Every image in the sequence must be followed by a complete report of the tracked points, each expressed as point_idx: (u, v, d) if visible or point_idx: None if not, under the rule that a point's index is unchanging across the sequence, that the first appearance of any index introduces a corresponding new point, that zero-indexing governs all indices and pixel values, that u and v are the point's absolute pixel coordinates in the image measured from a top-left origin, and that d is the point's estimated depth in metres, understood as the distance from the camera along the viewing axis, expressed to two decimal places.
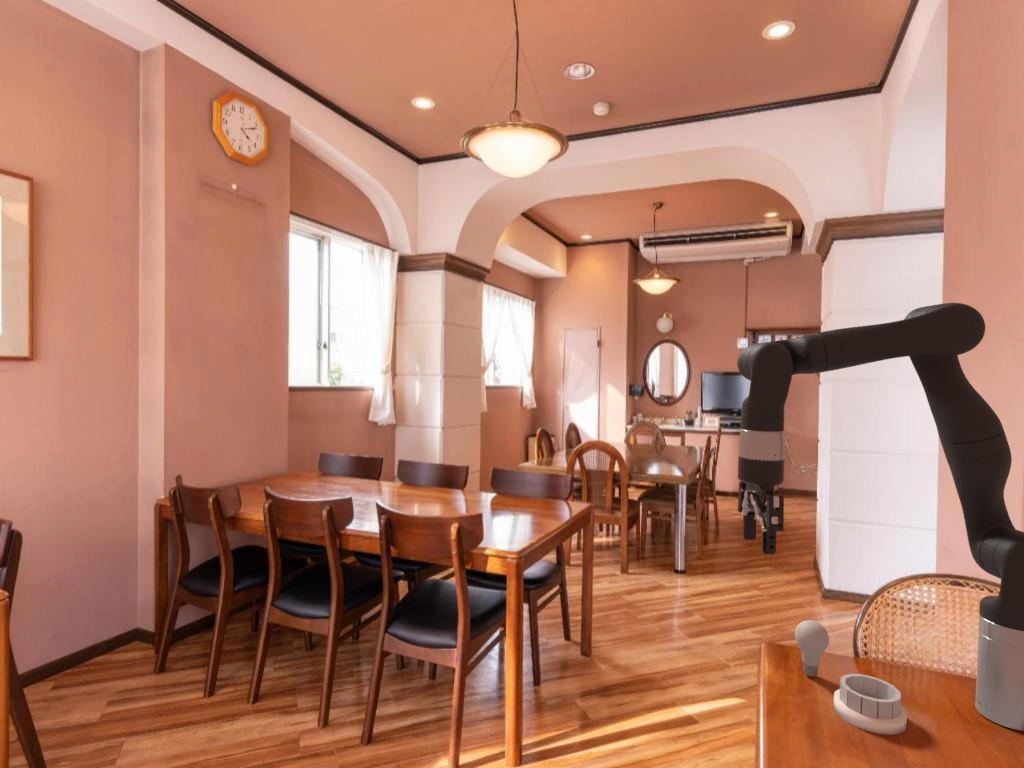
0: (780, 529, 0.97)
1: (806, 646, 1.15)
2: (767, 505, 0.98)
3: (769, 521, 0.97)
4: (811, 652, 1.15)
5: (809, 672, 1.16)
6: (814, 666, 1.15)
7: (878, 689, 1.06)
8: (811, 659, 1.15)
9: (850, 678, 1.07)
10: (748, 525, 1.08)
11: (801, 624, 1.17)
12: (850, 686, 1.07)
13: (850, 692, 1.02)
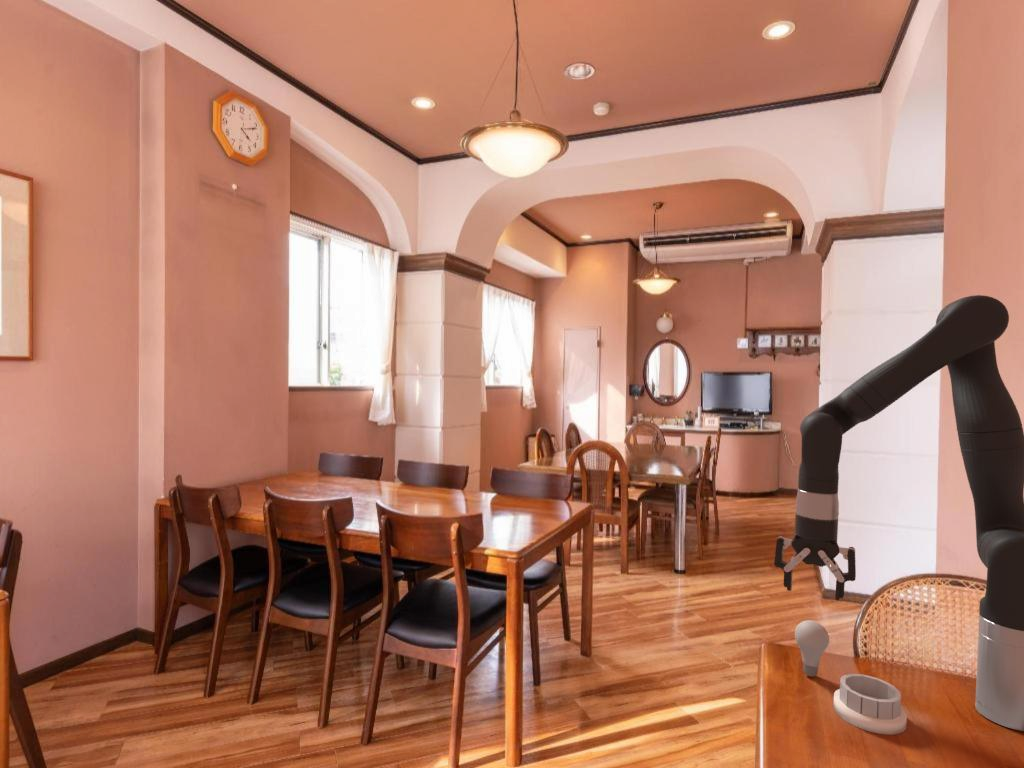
0: (855, 576, 1.13)
1: (806, 646, 1.15)
2: (851, 558, 1.12)
3: (855, 572, 1.12)
4: (811, 652, 1.15)
5: (809, 672, 1.16)
6: (814, 666, 1.15)
7: (878, 689, 1.06)
8: (811, 659, 1.15)
9: (850, 678, 1.07)
10: (791, 577, 1.18)
11: (801, 624, 1.17)
12: (850, 686, 1.07)
13: (850, 692, 1.02)
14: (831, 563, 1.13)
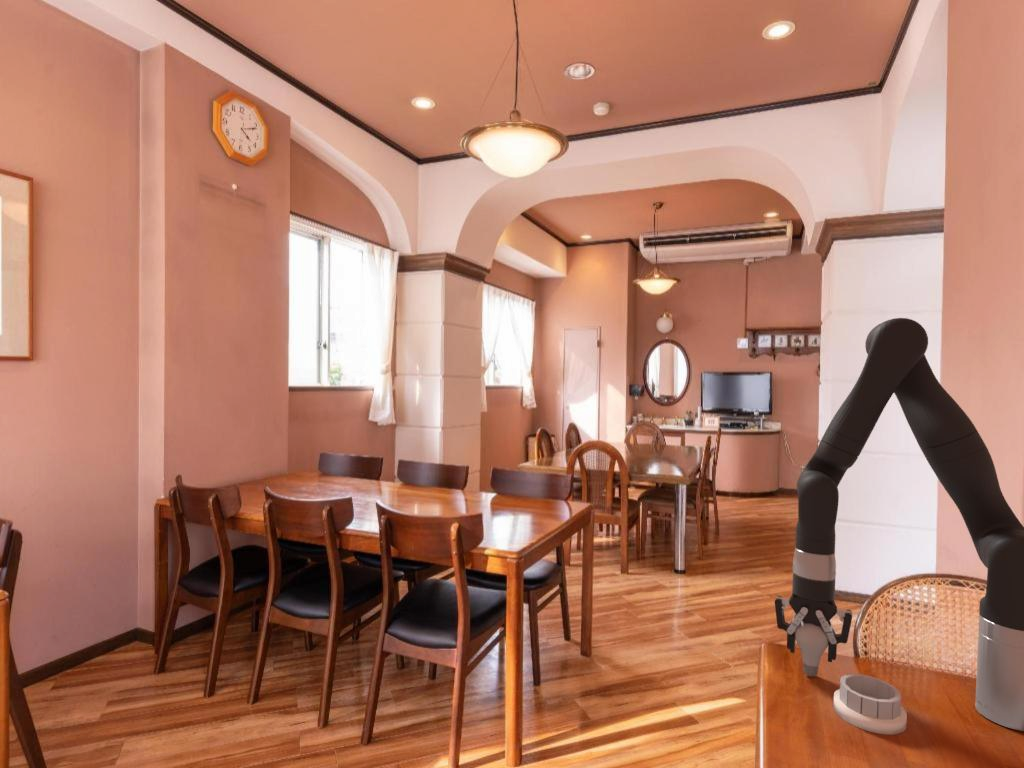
0: None
1: (806, 646, 1.15)
2: (847, 622, 1.12)
3: None
4: (811, 652, 1.15)
5: (809, 672, 1.16)
6: (814, 666, 1.15)
7: (878, 689, 1.06)
8: (811, 659, 1.15)
9: (850, 678, 1.07)
10: (794, 639, 1.18)
11: (801, 624, 1.17)
12: (850, 686, 1.07)
13: (850, 692, 1.02)
14: (827, 624, 1.14)
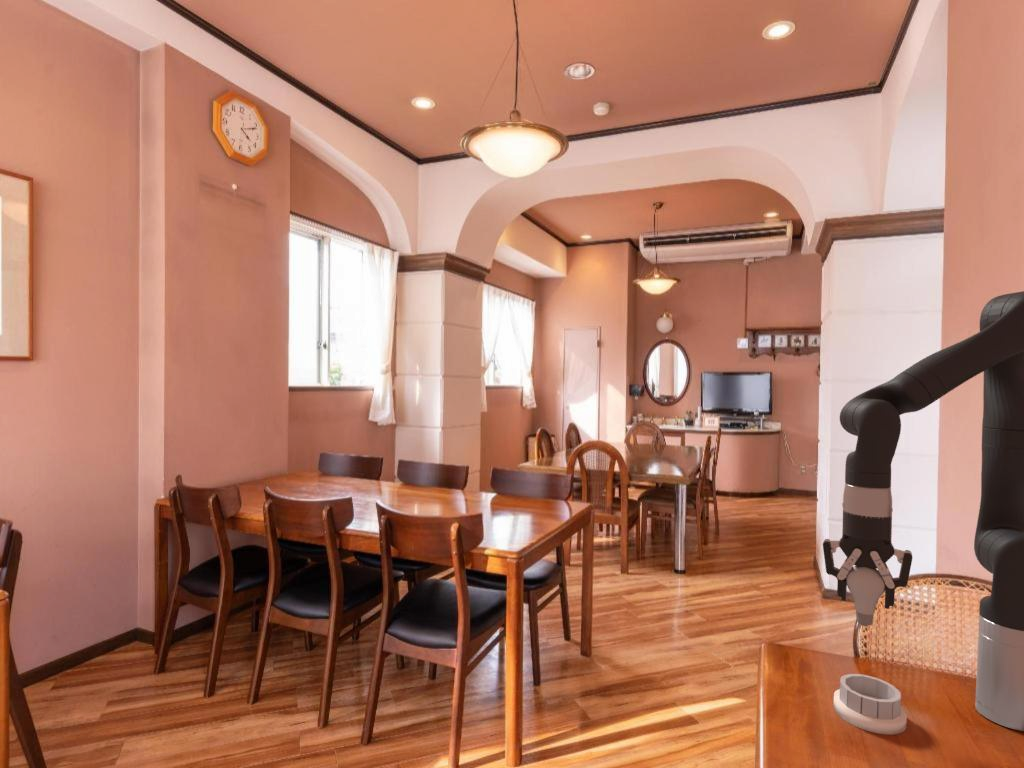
0: None
1: (859, 591, 1.03)
2: (906, 563, 1.01)
3: None
4: (866, 598, 1.03)
5: (863, 621, 1.04)
6: (869, 614, 1.04)
7: (878, 689, 1.06)
8: (866, 606, 1.04)
9: (850, 678, 1.07)
10: (846, 585, 1.06)
11: (853, 568, 1.05)
12: (850, 686, 1.07)
13: (850, 692, 1.02)
14: (883, 566, 1.02)
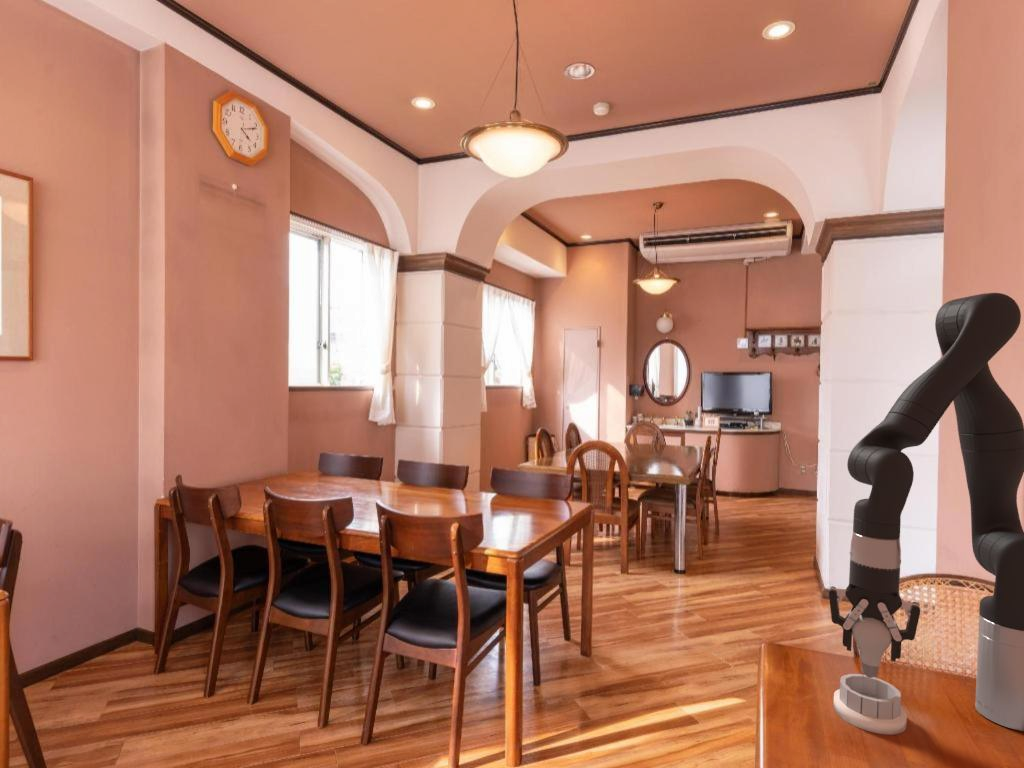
0: None
1: (866, 643, 1.01)
2: (914, 616, 0.99)
3: (915, 632, 0.99)
4: (872, 650, 1.01)
5: (869, 672, 1.03)
6: (875, 666, 1.02)
7: (878, 689, 1.06)
8: (872, 658, 1.02)
9: (850, 678, 1.07)
10: (851, 635, 1.05)
11: (860, 618, 1.04)
12: (850, 686, 1.07)
13: (850, 692, 1.02)
14: (890, 619, 1.01)
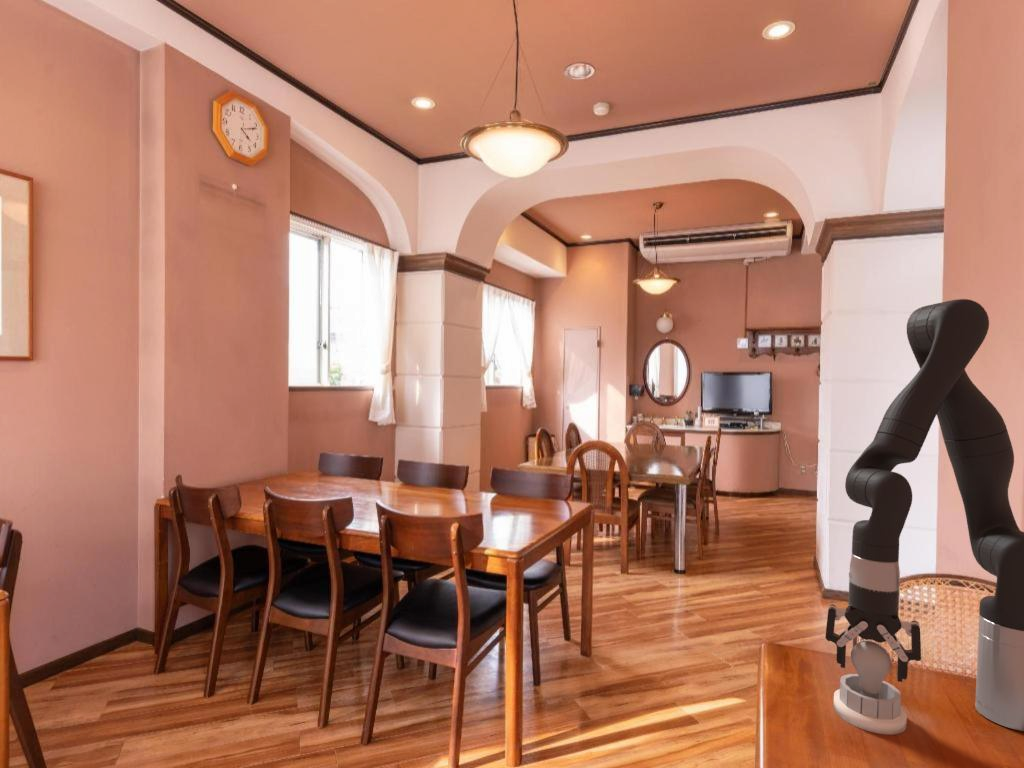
0: None
1: (865, 671, 1.02)
2: (915, 635, 0.99)
3: (920, 651, 0.99)
4: (871, 677, 1.01)
5: None
6: (875, 693, 1.02)
7: None
8: (871, 685, 1.02)
9: (850, 678, 1.07)
10: None
11: (858, 645, 1.04)
12: (850, 686, 1.07)
13: (850, 692, 1.02)
14: (892, 640, 1.00)
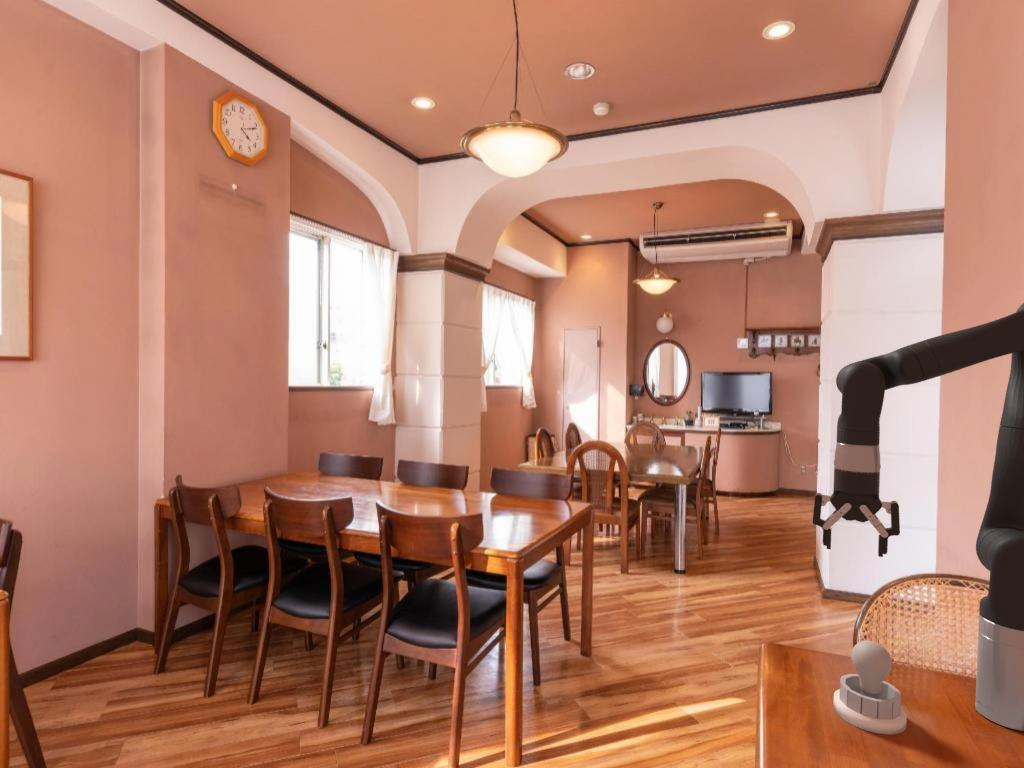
0: None
1: (865, 671, 1.02)
2: (895, 512, 1.08)
3: (899, 526, 1.07)
4: (872, 677, 1.01)
5: None
6: (875, 693, 1.02)
7: None
8: (872, 685, 1.02)
9: (850, 678, 1.07)
10: (830, 535, 1.14)
11: (859, 645, 1.04)
12: (850, 686, 1.07)
13: (850, 692, 1.02)
14: (874, 518, 1.09)
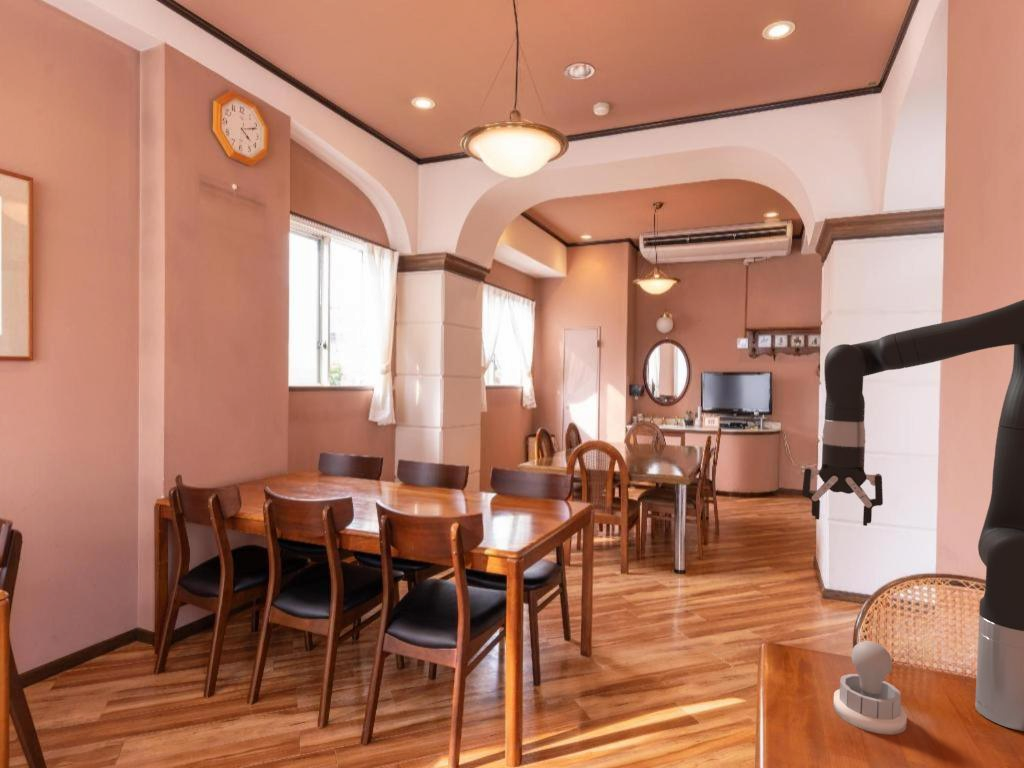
0: None
1: (866, 671, 1.01)
2: (878, 484, 1.15)
3: (882, 497, 1.15)
4: (872, 678, 1.01)
5: None
6: (875, 693, 1.02)
7: None
8: (872, 686, 1.02)
9: (850, 678, 1.07)
10: (819, 506, 1.22)
11: (859, 645, 1.04)
12: (850, 686, 1.07)
13: (850, 692, 1.02)
14: (859, 489, 1.17)
